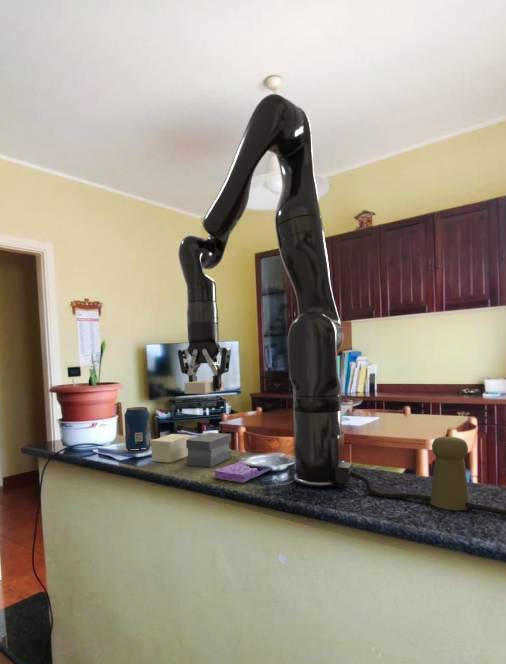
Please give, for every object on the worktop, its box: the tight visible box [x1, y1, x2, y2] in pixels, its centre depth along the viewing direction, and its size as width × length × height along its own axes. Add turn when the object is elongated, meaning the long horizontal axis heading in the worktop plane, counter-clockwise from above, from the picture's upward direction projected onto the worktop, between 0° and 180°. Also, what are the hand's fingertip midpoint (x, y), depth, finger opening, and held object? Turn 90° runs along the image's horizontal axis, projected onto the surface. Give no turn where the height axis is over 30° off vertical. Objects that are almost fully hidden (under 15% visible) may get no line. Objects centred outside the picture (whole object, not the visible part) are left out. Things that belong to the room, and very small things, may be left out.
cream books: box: [150, 433, 191, 464], centre depth 110 cm, size 6×10×5 cm, turn 153°
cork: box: [428, 436, 471, 511], centre depth 70 cm, size 6×6×11 cm
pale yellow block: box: [183, 379, 225, 395], centre depth 105 cm, size 6×10×3 cm, turn 153°
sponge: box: [214, 459, 272, 483], centre depth 92 cm, size 7×13×2 cm, turn 145°
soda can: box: [123, 406, 152, 454], centre depth 120 cm, size 7×7×12 cm
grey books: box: [186, 432, 232, 468], centre depth 105 cm, size 7×11×6 cm, turn 153°
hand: (205, 390), depth 105 cm, fingers closed on pale yellow block, 5 cm apart
